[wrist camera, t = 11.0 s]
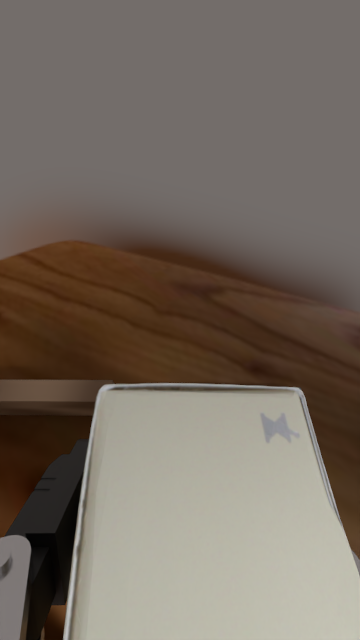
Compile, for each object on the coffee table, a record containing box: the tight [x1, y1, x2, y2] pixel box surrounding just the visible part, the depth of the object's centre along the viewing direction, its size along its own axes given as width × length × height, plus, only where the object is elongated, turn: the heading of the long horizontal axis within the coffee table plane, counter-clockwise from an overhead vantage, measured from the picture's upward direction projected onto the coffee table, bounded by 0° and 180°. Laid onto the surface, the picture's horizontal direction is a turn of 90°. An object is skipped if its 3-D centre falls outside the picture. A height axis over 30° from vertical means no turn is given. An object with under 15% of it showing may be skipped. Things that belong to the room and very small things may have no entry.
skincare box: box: [63, 383, 360, 640], centre depth 9 cm, size 6×4×12 cm
